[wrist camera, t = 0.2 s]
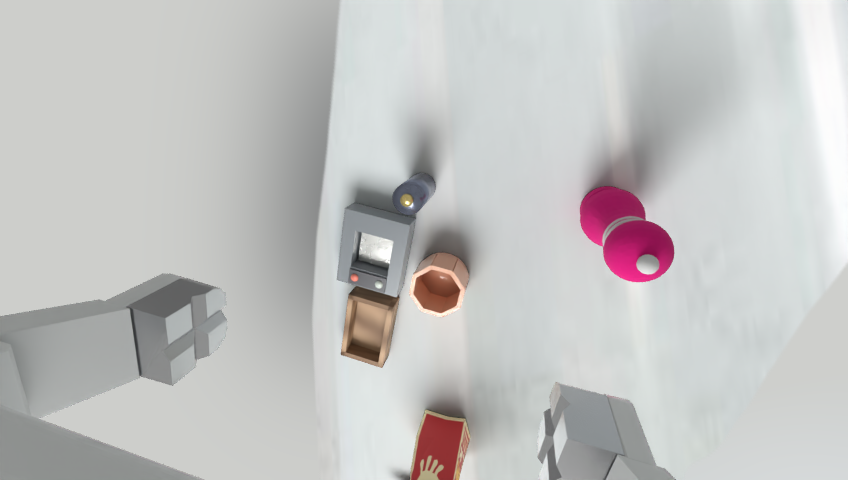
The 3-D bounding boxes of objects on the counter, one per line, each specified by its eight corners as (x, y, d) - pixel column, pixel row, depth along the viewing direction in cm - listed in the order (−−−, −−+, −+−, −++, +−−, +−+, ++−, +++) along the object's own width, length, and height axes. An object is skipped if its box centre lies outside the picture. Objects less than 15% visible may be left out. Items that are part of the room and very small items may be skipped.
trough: (356, 285, 65) (348, 294, 62) (399, 297, 64) (393, 307, 61) (348, 343, 69) (340, 354, 66) (388, 355, 68) (382, 367, 65)
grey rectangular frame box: (354, 202, 60) (343, 209, 56) (416, 218, 59) (409, 226, 55) (345, 270, 65) (335, 281, 61) (402, 287, 63) (395, 298, 60)
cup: (424, 246, 60) (415, 260, 55) (473, 259, 59) (469, 275, 54) (415, 290, 63) (406, 307, 58) (462, 303, 62) (457, 322, 57)
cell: (411, 170, 56) (393, 181, 48) (438, 176, 56) (424, 189, 48) (406, 196, 58) (388, 211, 50) (432, 202, 57) (418, 219, 49)
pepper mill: (571, 189, 52) (599, 238, 34) (630, 176, 50) (693, 220, 32) (581, 239, 54) (612, 311, 36) (638, 228, 52) (702, 298, 34)
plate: (364, 226, 61) (362, 228, 60) (397, 235, 60) (395, 237, 59) (360, 257, 63) (358, 259, 62) (391, 266, 62) (390, 268, 61)
